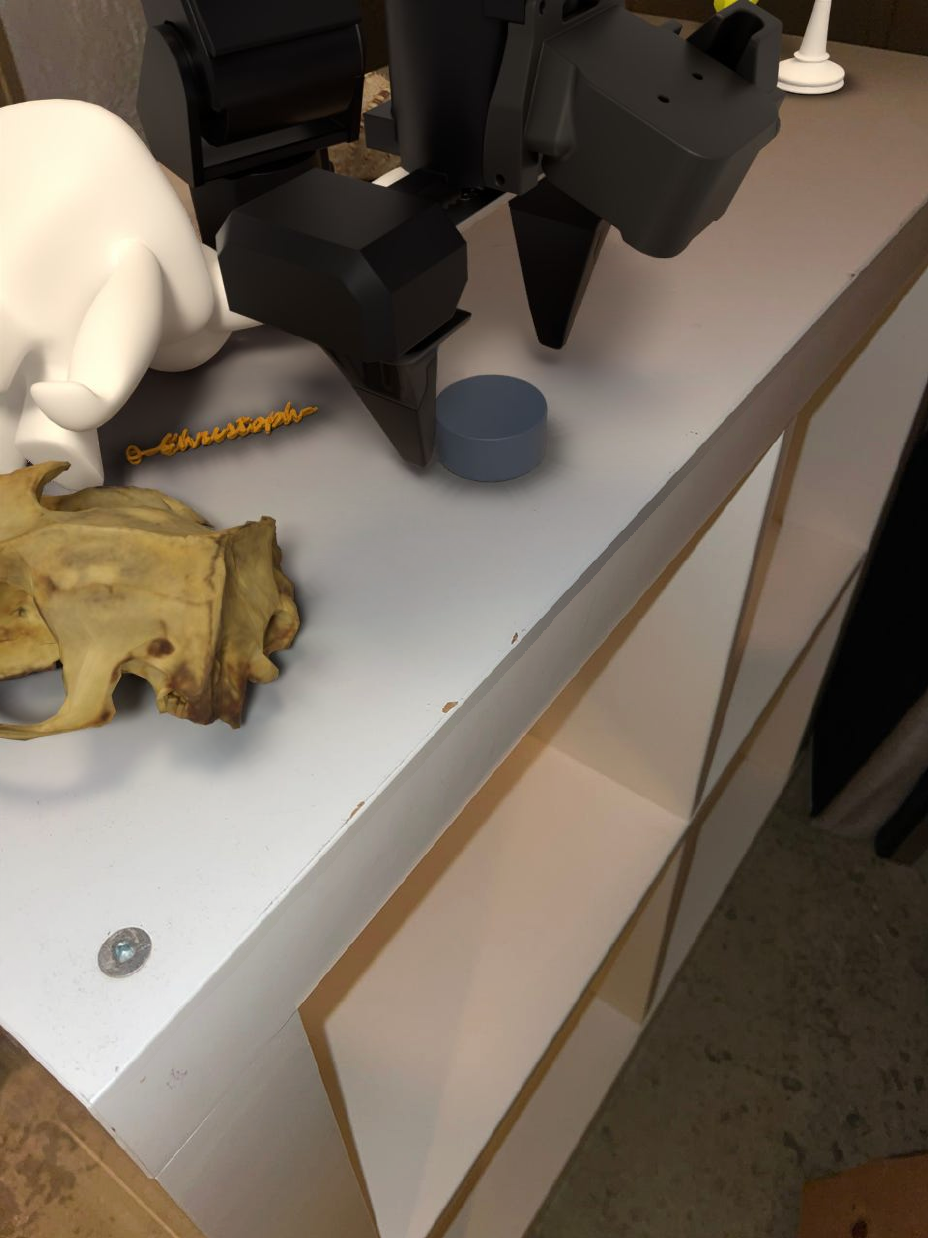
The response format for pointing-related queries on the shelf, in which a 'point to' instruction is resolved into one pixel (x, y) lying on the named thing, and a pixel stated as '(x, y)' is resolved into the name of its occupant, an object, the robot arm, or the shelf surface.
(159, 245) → the toy animal
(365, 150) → the seashell
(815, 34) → the chess piece
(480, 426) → the short blue cylinder
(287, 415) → the keychain
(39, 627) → the animal skull
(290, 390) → the shelf surface
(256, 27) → the robot arm
